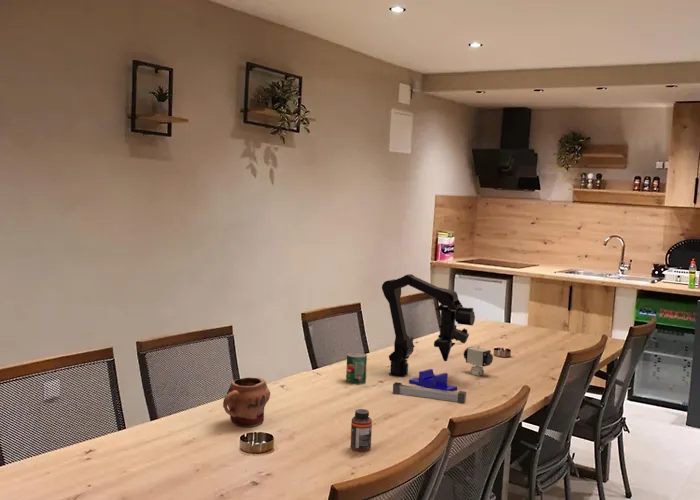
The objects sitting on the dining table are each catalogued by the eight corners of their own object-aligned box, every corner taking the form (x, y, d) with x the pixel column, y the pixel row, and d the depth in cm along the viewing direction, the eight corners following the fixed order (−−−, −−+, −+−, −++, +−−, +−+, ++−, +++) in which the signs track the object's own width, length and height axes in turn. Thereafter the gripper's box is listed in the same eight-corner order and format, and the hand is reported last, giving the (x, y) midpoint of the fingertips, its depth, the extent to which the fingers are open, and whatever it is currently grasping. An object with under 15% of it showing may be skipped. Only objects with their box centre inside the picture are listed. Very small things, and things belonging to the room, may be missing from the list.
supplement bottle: (349, 445, 205) (351, 407, 204) (369, 445, 205) (371, 407, 204) (351, 452, 199) (352, 414, 198) (371, 452, 199) (373, 414, 198)
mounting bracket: (457, 391, 267) (457, 375, 267) (445, 394, 262) (446, 378, 262) (420, 381, 280) (421, 366, 280) (409, 384, 275) (409, 369, 274)
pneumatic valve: (485, 378, 286) (487, 349, 285) (462, 372, 294) (463, 344, 293) (493, 376, 290) (494, 348, 289) (469, 370, 298) (471, 343, 297)
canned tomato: (370, 382, 274) (371, 354, 273) (356, 386, 268) (357, 357, 267) (355, 378, 279) (356, 351, 278) (341, 381, 273) (342, 354, 272)
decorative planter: (242, 437, 208) (243, 391, 206) (209, 429, 213) (210, 385, 212) (278, 419, 226) (279, 377, 224) (247, 412, 231) (248, 371, 230)
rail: (392, 393, 259) (393, 384, 259) (395, 391, 262) (395, 382, 262) (464, 403, 250) (464, 393, 250) (465, 401, 253) (466, 391, 253)
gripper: (463, 328, 264) (461, 368, 266) (472, 320, 282) (469, 358, 283) (434, 325, 268) (432, 365, 269) (444, 317, 285) (442, 355, 287)
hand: (445, 361), depth 277 cm, fingers closed
